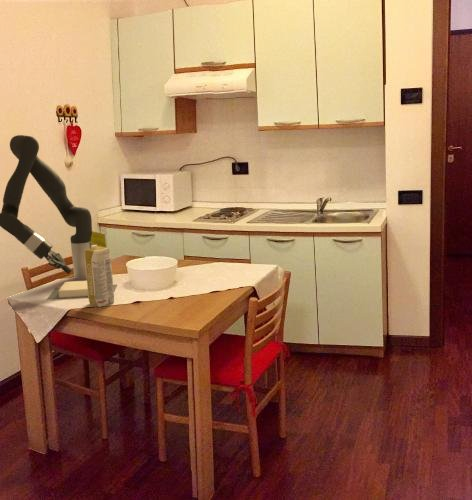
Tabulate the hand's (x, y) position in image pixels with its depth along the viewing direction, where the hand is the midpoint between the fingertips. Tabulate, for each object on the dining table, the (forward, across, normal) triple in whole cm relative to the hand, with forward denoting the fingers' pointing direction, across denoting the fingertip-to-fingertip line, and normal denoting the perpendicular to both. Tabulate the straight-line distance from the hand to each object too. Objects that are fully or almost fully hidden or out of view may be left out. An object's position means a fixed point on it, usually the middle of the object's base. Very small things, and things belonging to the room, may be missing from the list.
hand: (70, 272), depth 273 cm
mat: (+10, 0, +4) cm, 10 cm away
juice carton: (+18, -18, -4) cm, 26 cm away
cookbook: (+2, 0, +8) cm, 9 cm away
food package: (+12, +34, +2) cm, 36 cm away
